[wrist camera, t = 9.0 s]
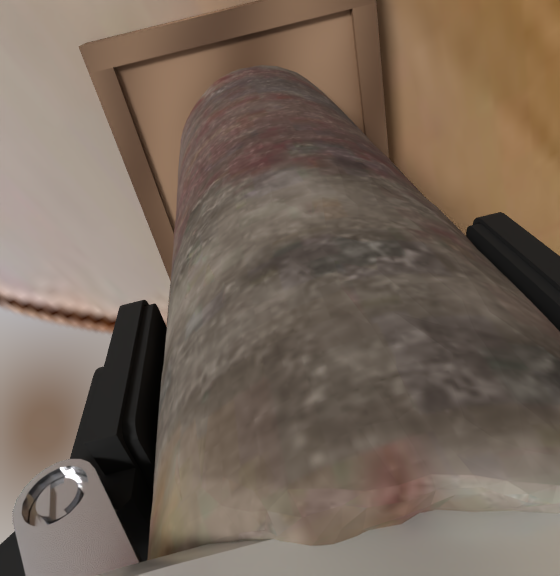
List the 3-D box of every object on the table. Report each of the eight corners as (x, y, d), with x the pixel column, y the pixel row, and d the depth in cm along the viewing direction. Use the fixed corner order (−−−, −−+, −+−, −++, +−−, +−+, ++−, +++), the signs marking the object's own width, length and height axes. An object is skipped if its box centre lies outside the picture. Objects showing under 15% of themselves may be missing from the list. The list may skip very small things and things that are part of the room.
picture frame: (363, -26, 20) (373, -26, 19) (386, 226, 27) (395, 238, 26) (86, 42, 20) (78, 46, 19) (176, 279, 27) (175, 293, 26)
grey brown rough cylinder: (371, 177, 23) (784, 674, 7) (245, 255, 25) (320, 827, 8) (289, 25, 19) (790, 293, 3) (146, 128, 21) (-114, 725, 4)
